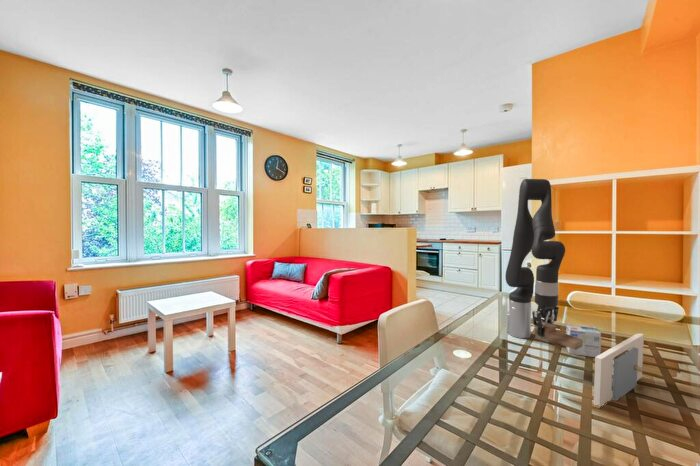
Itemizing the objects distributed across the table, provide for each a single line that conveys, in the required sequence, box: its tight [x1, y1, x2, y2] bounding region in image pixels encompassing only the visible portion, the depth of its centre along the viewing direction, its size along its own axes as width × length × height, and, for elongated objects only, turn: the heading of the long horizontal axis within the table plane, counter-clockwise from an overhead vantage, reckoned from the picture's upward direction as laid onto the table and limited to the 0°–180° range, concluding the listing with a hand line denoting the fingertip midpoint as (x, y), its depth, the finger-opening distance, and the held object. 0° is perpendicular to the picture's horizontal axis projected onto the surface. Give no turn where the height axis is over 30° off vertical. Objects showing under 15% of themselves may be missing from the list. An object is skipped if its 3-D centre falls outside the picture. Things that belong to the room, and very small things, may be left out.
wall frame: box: [593, 332, 645, 406], centre depth 97 cm, size 2×32×16 cm, turn 118°
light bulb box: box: [565, 323, 602, 358], centre depth 122 cm, size 11×7×11 cm, turn 65°
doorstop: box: [534, 322, 583, 350], centre depth 109 cm, size 14×5×4 cm, turn 28°
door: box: [611, 348, 643, 401], centre depth 95 cm, size 3×15×13 cm, turn 118°
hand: (544, 333), depth 114 cm, fingers closed on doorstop, 5 cm apart
